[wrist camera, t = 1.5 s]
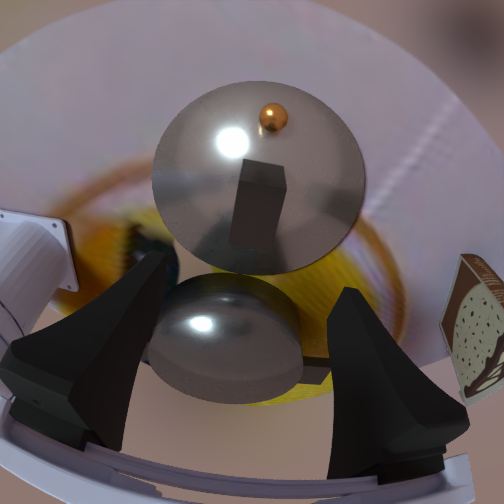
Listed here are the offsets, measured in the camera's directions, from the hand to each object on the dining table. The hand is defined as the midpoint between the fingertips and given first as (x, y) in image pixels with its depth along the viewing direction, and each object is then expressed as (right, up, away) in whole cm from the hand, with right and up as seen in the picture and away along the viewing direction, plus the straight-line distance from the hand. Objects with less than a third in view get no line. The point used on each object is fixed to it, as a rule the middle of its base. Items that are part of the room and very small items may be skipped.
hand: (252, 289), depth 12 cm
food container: (+22, -2, +12) cm, 25 cm away
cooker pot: (-2, -5, +16) cm, 17 cm away
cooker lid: (0, +6, +8) cm, 10 cm away
